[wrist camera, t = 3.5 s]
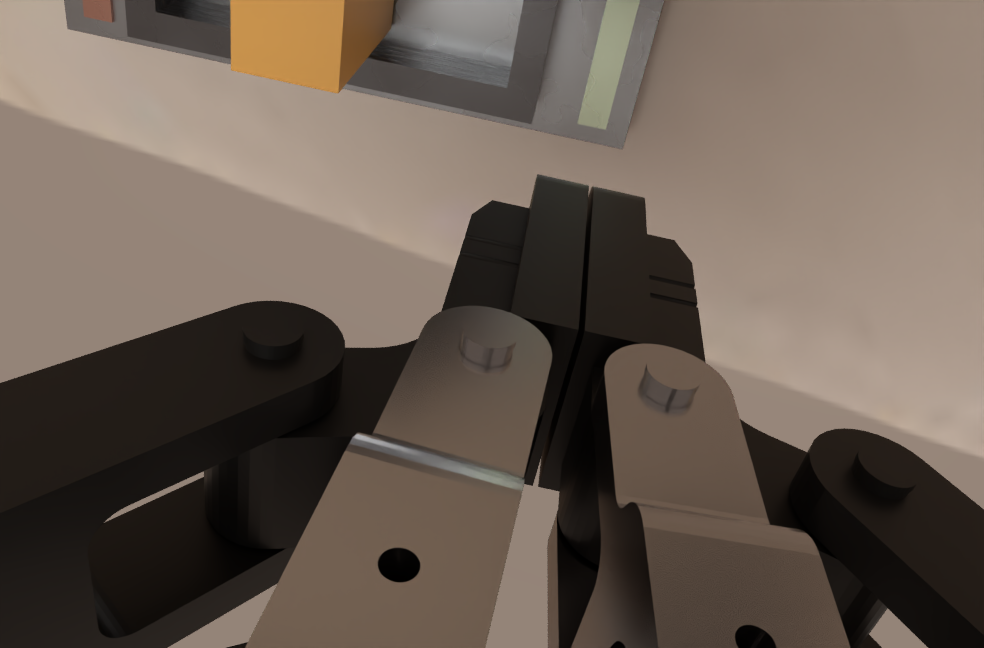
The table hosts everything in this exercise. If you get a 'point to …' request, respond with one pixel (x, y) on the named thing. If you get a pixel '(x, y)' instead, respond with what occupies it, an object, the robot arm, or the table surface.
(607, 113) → the panel
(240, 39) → the block
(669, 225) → the table surface
